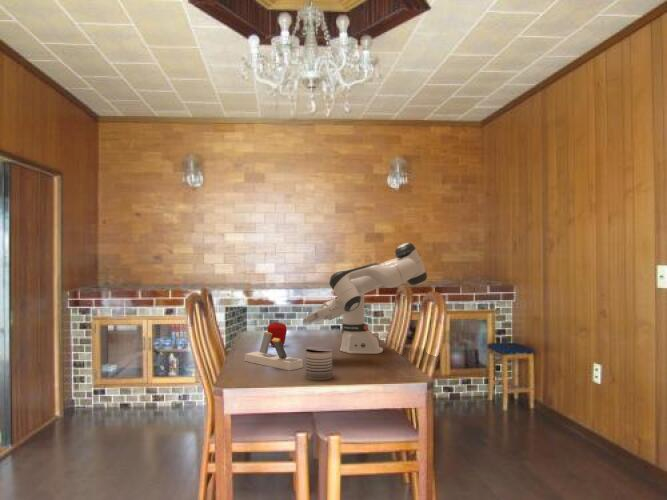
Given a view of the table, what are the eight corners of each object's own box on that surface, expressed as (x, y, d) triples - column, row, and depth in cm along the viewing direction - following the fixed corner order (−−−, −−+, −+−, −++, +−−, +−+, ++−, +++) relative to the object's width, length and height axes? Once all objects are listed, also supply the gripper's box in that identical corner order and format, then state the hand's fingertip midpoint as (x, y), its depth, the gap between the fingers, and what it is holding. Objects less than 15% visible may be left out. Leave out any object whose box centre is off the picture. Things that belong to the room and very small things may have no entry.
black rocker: (281, 355, 238) (274, 337, 235) (287, 356, 236) (279, 338, 232) (279, 357, 237) (271, 339, 234) (284, 358, 235) (277, 340, 231)
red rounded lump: (263, 346, 287) (263, 321, 287) (277, 343, 295) (277, 319, 295) (276, 348, 280) (276, 323, 280) (290, 346, 288) (290, 321, 288)
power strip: (257, 358, 254) (257, 350, 254) (302, 367, 235) (302, 359, 235) (244, 361, 248) (244, 353, 248) (290, 370, 228) (290, 361, 228)
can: (301, 375, 221) (301, 346, 221) (326, 372, 225) (326, 344, 225) (311, 381, 210) (311, 351, 210) (337, 378, 215) (337, 349, 215)
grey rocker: (261, 352, 248) (267, 332, 250) (267, 353, 245) (272, 333, 248) (259, 352, 247) (264, 331, 249) (264, 353, 244) (269, 332, 247)
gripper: (340, 313, 242) (314, 323, 236) (325, 319, 260) (300, 329, 254) (335, 300, 242) (309, 310, 236) (320, 307, 261) (295, 317, 254)
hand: (304, 320), depth 245 cm, fingers closed
